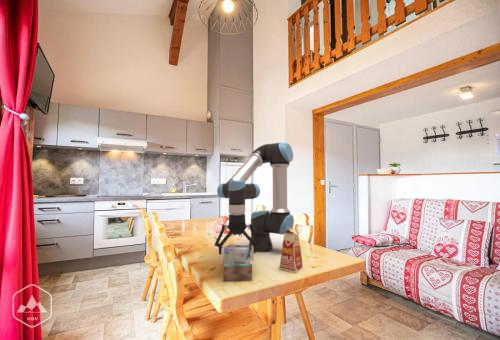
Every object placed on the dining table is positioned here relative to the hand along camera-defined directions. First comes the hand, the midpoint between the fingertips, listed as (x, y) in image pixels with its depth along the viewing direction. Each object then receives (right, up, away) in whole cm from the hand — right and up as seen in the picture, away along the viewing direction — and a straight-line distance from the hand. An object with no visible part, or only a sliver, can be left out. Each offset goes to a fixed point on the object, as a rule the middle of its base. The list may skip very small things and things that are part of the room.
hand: (237, 261), depth 111 cm
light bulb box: (0, -4, 0) cm, 4 cm away
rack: (-1, -6, +6) cm, 9 cm away
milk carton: (+25, -6, +7) cm, 27 cm away
